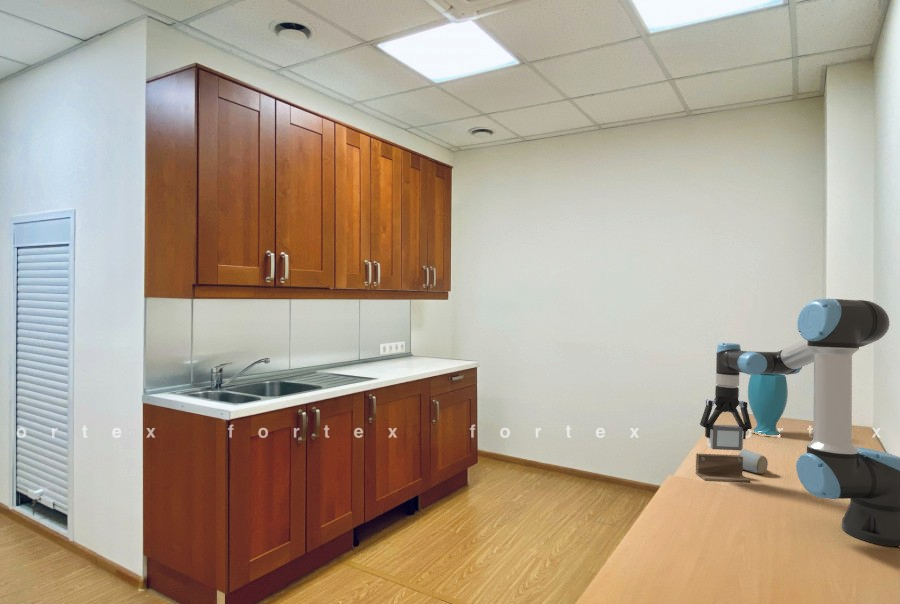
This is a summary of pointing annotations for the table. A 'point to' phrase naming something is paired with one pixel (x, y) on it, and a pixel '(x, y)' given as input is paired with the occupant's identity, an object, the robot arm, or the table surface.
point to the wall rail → (720, 467)
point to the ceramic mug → (754, 462)
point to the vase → (767, 401)
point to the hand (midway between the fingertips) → (724, 447)
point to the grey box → (727, 437)
